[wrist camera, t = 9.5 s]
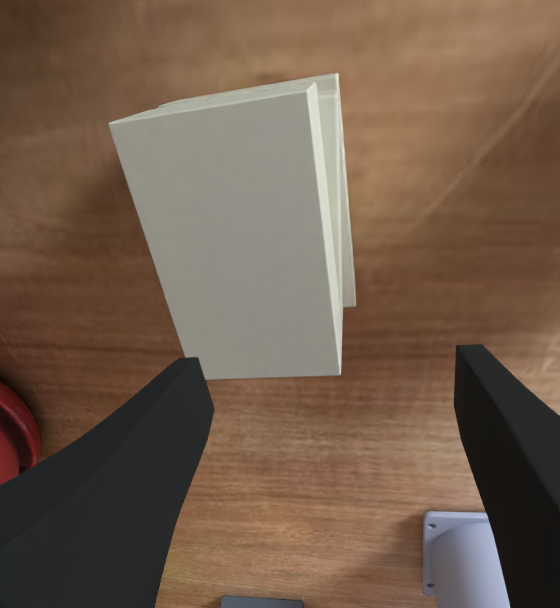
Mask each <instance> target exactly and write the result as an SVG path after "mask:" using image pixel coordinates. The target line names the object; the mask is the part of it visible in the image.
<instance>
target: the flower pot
mask: <svg viewBox="0 0 560 608" xmlns="http://www.w3.org/2000/svg"><path fill="white" fill-rule="evenodd" d="M40 454H41V438H40V433H39V429H38V426H37V424H36V421H35V419H34V417H33V415H32V414H31V412H30V411H29V409H28V408H27V406H26V405H25V403H24V402H23V401H22V400H21V399H20V398H19V397H18V396H17V395H16V394H15V393H14V392H13V391H12V390H11V389H10V388H8V387H7V386H6V385H5V384H3V383H2V382H1V381H0V485H1V484H3V483H5V482H7V481H9V480H10V479H12V478H14V477H16V476H18V475H20V474H22V473H23V472H25V471H27V470H29V469H30V468H32V467H34V466H35V465H37V464H38V462H39V459H40Z"/></svg>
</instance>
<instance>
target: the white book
mask: <svg viewBox="0 0 560 608" xmlns="http://www.w3.org/2000/svg"><path fill="white" fill-rule="evenodd" d="M108 127H109V130H110V133H111V136H112V139H113V142H114V145H115V148H116V151H117V154H118V157H119V160H120V163H121V166H122V169H123V172H124V175H125V178H126V181H127V184H128V187H129V190H130V193H131V196H132V199H133V202H134V205H135V208H136V211H137V214H138V217H139V220H140V223H141V226H142V229H143V232H144V235H145V238H146V241H147V244H148V248H149V251H150V254H151V257H152V260H153V263H154V266H155V269H156V272H157V275H158V278H159V281H160V284H161V287H162V290H163V293H164V296H165V299H166V302H167V305H168V308H169V311H170V314H171V317H172V320H173V323H174V326H175V329H176V332H177V335H178V338H179V341H180V344H181V347H182V350H183V353H184V356H185V358H187V357H198V358H199V361H200V364H201V368H202V371H203V374H204V377H205V380H215V379H246V378H278V377H309V376H339V375H341V356H342V322H341V313H340V303H339V294H338V284H337V275H336V266H335V256H334V247H333V237H332V228H331V219H330V209H329V200H328V190H327V181H326V171H325V162H324V153H323V143H322V134H321V124H320V115H319V106H318V96H317V87H316V83H315V82H312V83H306V84H300V85H294V86H288V87H282V88H276V89H271V90H265V91H259V92H253V93H247V94H241V95H235V96H230V97H224V98H218V99H212V100H206V101H200V102H194V103H188V104H183V105H177V106H171V107H165V108H159V109H153V110H148V111H145V112H142V113H139V114H135V115H132V116H129V117H126V118H123V119H120V120H116V121H113V122H110V123H108Z"/></svg>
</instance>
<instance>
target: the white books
mask: <svg viewBox="0 0 560 608" xmlns="http://www.w3.org/2000/svg"><path fill="white" fill-rule="evenodd" d="M312 82H315V83H316V87H317V96H318V106H319V115H320V124H321V134H322V143H323V153H324V162H325V171H326V181H327V190H328V200H329V209H330V219H331V228H332V237H333V247H334V256H335V266H336V275H337V284H338V294H339V303H340V313H341V322H342V324H343V307H355V306H356V282H355V270H354V258H353V246H352V234H351V222H350V210H349V198H348V186H347V174H346V162H345V150H344V138H343V126H342V114H341V102H340V89H339V77H338V73H332V74H326V75H320V76H315V77H309V78H303V79H297V80H291V81H286V82H280V83H274V84H268V85H263V86H257V87H251V88H245V89H239V90H234V91H228V92H222V93H216V94H210V95H205V96H199V97H193V98H187V99H182V100H176V101H173V102H170V103H166V104H163V105H160V106H158V109H159V108H165V107H171V106H177V105H183V104H188V103H194V102H200V101H206V100H212V99H218V98H224V97H230V96H235V95H241V94H247V93H253V92H259V91H265V90H271V89H276V88H282V87H288V86H294V85H300V84H306V83H312Z"/></svg>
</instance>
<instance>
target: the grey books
mask: <svg viewBox="0 0 560 608" xmlns="http://www.w3.org/2000/svg"><path fill="white" fill-rule="evenodd" d="M220 608H304V604H303V601H293V600H280V599H266V598H253V597H239V596H226V595H223V598H222V602H221V606H220Z"/></svg>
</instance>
